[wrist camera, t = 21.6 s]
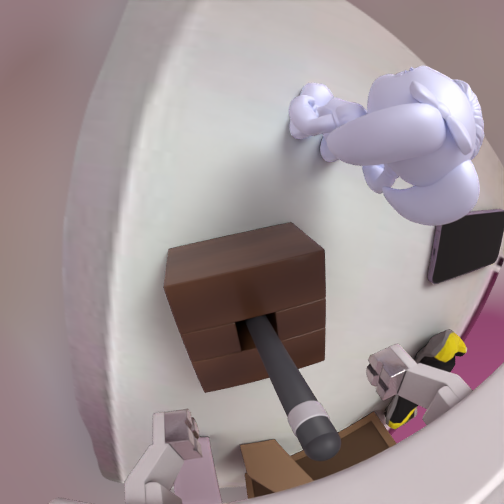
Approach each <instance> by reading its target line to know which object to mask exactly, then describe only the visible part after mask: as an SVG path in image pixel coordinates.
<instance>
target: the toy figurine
mask: <svg viewBox="0 0 504 504" xmlns="http://www.w3.org/2000/svg"><path fill="white" fill-rule="evenodd" d="M289 116H290V133H291V135H292V136H293V137H294V138H296V139H304V138H307V137H309V136H315V135H319V134H323V136H324V137H323V139H322V141H321V145H320V152H321V156H322V158H323V159H324V160H325V161H327V162H334V161H337V160H339V159H340V160H341V161H343V162H345V163H348V164H352V165H360V166H362V170H363V173H364V177H365V180H366V182H367V184H368V186H369V187H370V188H371V189H372V190H373V191H374V192H376V193H379V194H381V193H383V194H384V196H385V198H386V200H387V201H388V202H389V204H390V205H391V206H392V207H393V208H394V209H395V210H396V211H397V212H398V213H399V214H400V215H401V216H403V217H404V218H406V219H408V220H410V221H412V222H415V223H419V224H423V225H430V226H437V225H444V224H448V223H451V222H454V221H456V220H458V219H460V218H462V217H464V216H465V215H466V214H468V213H469V212H470V211H471V210H472V209H473V208H474V206H475V205H476V203H477V201H478V198H479V192H480V185H479V179H478V175H477V172H476V170H475V168H474V165H473V163H472V162H471V160H472V159H473V158H474V157H475V156H476V155H477V154H478V152H479V149H480V146H481V145H482V142H483V138H484V132H483V129H484V121H483V119H482V112H481V107H480V105H479V102H478V99H477V97H476V95H475V94H474V93H473V92H472V90H471V88H470V86H469V85H468V84H467V83H466V82H464V81H462V80H453V79H450V78H449V77H447V76H445V75H444V74H442V73H440V72H438V71H436V70H433V69H432V68H429V67H427V66H419V67H417V68H415V69H414V68H412V67H411V68H410V70H409V71H406V70H405V71H402V72H399V73H397V74H396V75H393V74H386V75H382V76H380V77H378V78H377V79H376V80H375V81H374V82H373V84H372V86H371V88H370V92H369V96H368V104H367V110H366V109H365V108H364V107H363V106H362V105H360V104H358V103H355V102H348V101H345V100H342V99H340V98H334V96H333V95H332V93H331V91H330V90H329V88H328V87H327V86H326V85H324V84H317V83H308V84H306V85H305V86H304V87H303V88H302V91H301V93H300V95H299V96H297V97H296V98H294V99H293V100H292V101H291V103H290V106H289ZM398 177H400V178H402V179H403V180H404V181H406V182H408V183H410V184H412V185H415V186H413V187H411V188H408V189H401V190H399V189H393V188H390V187H391V186H392V185H393V184H394V182H395V179H397V178H398Z"/></svg>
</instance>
